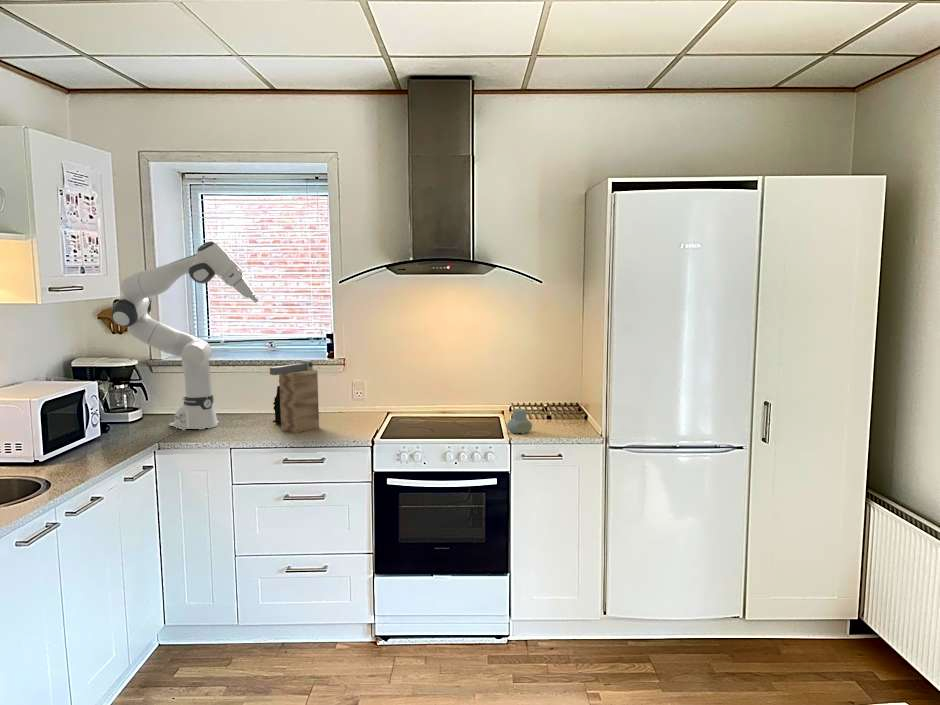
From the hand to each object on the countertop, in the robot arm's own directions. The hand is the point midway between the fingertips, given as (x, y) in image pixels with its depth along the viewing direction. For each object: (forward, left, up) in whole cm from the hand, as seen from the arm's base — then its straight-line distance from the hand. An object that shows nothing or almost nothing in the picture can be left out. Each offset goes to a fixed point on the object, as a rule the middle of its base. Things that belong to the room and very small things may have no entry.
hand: (255, 298), depth 292 cm
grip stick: (+9, +10, -32) cm, 35 cm away
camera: (-7, +22, -58) cm, 62 cm away
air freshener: (+95, +59, -58) cm, 126 cm away
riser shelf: (+9, +14, -58) cm, 60 cm away
